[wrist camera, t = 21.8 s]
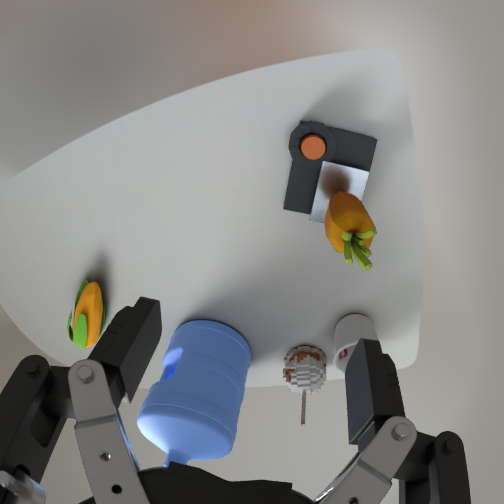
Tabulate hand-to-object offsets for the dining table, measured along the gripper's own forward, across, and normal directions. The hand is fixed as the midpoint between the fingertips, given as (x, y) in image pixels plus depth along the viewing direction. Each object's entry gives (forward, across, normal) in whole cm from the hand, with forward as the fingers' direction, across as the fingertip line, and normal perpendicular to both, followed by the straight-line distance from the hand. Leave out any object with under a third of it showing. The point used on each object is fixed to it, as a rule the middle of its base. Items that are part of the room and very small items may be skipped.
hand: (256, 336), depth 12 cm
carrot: (+29, -7, +4) cm, 30 cm away
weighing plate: (+29, -7, +4) cm, 31 cm away
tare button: (+30, -3, -2) cm, 30 cm away
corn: (+32, +33, +35) cm, 58 cm away
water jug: (+32, +8, +38) cm, 51 cm away
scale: (+32, -6, +2) cm, 33 cm away
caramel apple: (+32, -10, +36) cm, 50 cm away
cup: (+32, -18, +28) cm, 46 cm away
